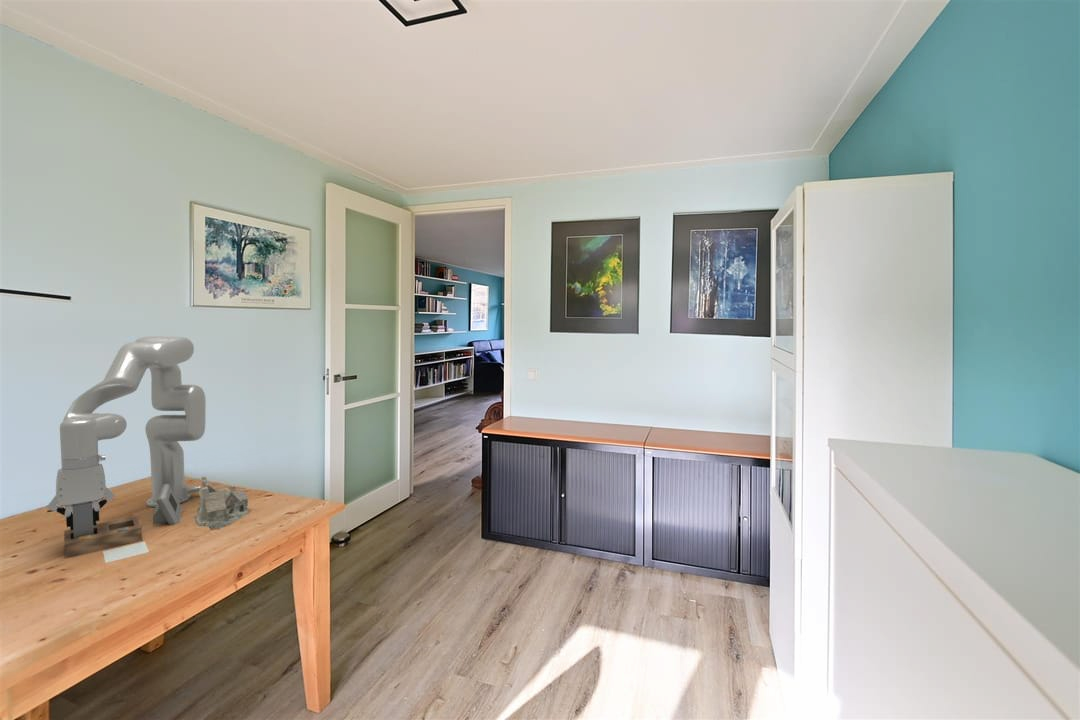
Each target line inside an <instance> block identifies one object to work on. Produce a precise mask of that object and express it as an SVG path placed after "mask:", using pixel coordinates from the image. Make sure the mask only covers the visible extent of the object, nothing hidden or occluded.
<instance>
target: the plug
mask: <svg viewBox="0 0 1080 720" xmlns="http://www.w3.org/2000/svg"><path fill="white" fill-rule="evenodd" d="M72 514H73V530H74V539H75V538H79V537H81V536H86V535H93V534H94V530H93V504H92V502H87V503H81V504H76V505H73V506H72Z"/></svg>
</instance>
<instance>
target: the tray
mask: <svg viewBox="0 0 1080 720" xmlns="http://www.w3.org/2000/svg"><path fill="white" fill-rule="evenodd" d="M102 553H103V558H104V563H105V564H107V563H111V562H116V561H119V560H125V559H127V558H132V557H135V556H139V555H143V554H147V553H149V548H148V546H147V543H146V541H139V542H135V543H131V544H127V545H123V546H118V547H114V548H112V549H111V548H110V549H106V550H102Z"/></svg>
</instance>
